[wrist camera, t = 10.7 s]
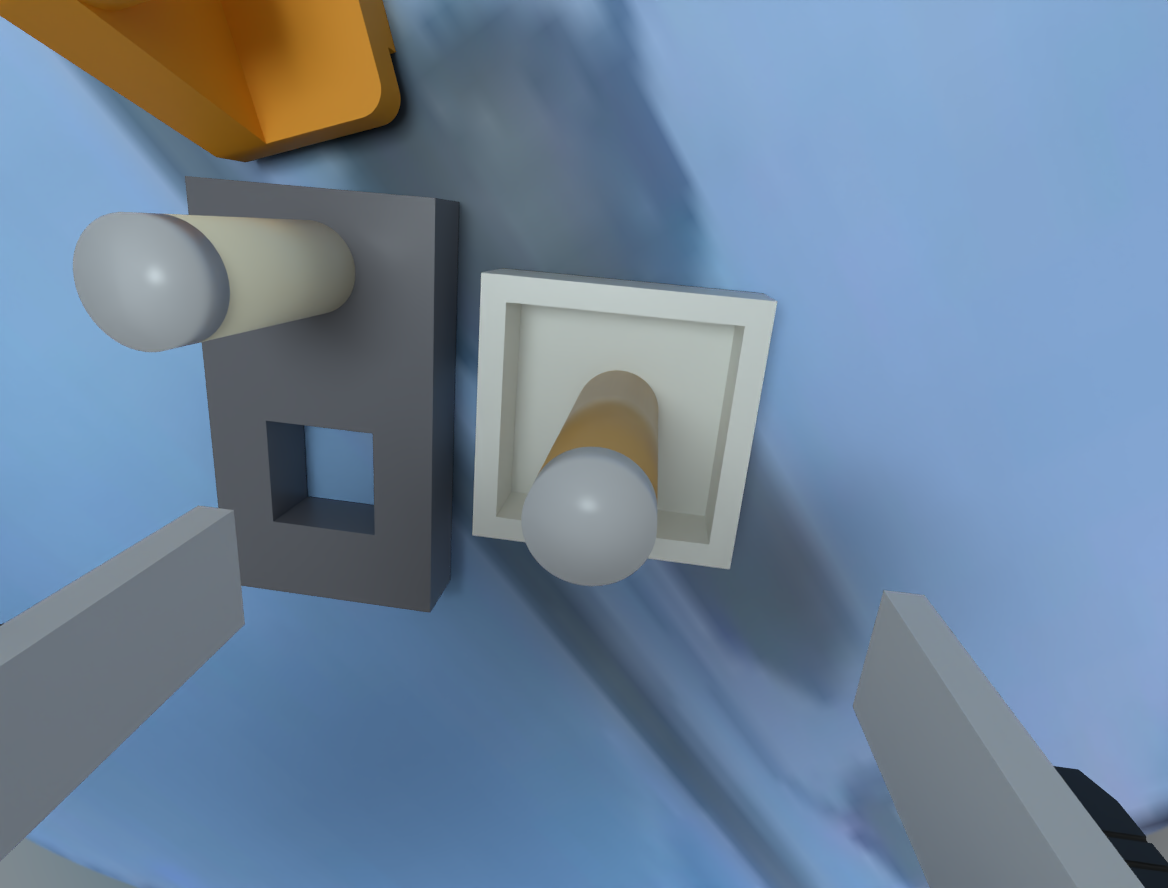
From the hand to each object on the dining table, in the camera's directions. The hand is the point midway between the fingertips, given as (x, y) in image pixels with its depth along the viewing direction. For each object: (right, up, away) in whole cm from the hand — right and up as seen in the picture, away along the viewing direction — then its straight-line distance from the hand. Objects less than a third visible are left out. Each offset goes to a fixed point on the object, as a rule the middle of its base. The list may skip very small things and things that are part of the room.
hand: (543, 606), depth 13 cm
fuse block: (-10, +5, +17) cm, 21 cm away
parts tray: (+2, +5, +16) cm, 17 cm away
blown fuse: (+2, +5, +15) cm, 16 cm away
